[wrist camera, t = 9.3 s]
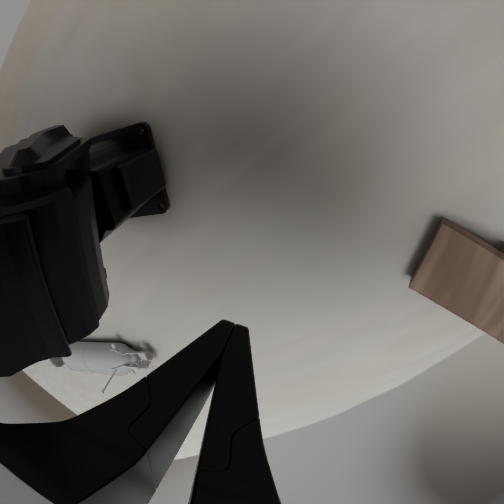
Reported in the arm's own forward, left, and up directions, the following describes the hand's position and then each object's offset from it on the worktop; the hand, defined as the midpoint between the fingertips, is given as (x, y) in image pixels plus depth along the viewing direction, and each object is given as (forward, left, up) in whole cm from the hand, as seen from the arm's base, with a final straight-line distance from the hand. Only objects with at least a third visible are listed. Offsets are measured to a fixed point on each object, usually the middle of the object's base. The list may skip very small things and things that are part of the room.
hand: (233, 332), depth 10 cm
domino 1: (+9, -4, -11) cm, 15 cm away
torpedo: (-23, -16, -13) cm, 31 cm away
